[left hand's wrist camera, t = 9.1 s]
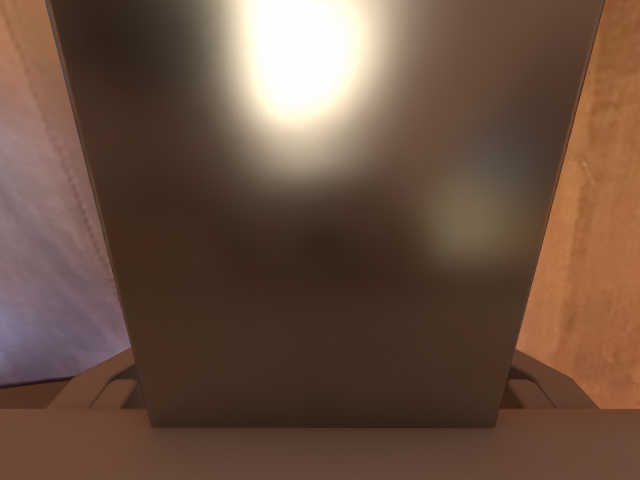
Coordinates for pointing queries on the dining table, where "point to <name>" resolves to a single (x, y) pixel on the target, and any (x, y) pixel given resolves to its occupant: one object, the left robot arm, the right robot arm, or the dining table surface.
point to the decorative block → (30, 395)
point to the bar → (324, 196)
